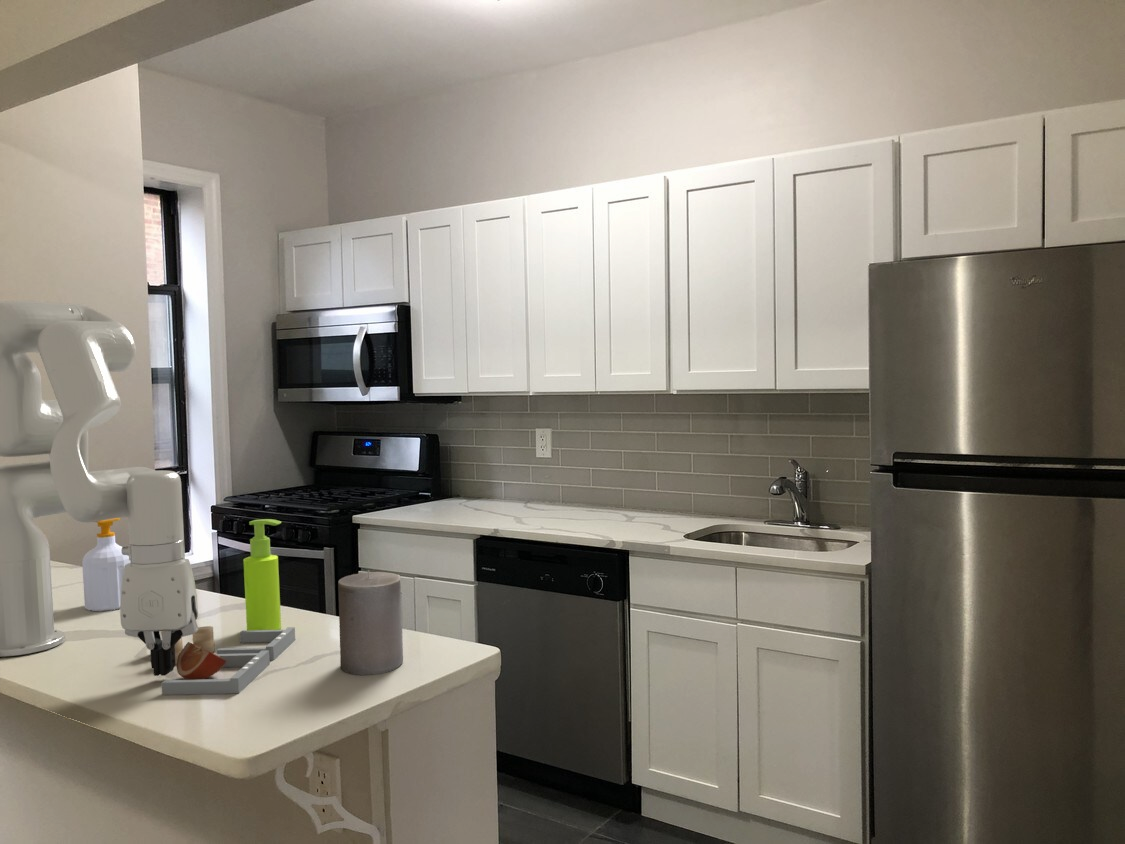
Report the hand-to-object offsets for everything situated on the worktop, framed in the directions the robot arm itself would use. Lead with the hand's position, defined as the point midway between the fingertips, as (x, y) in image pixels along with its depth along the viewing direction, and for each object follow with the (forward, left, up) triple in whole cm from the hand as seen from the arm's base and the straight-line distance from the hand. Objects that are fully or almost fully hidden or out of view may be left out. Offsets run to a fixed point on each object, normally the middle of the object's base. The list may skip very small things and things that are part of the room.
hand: (163, 672), depth 138 cm
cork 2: (+1, +13, -1) cm, 13 cm away
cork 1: (-2, +8, -1) cm, 8 cm away
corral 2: (+9, +14, -1) cm, 17 cm away
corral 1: (+8, 0, -1) cm, 8 cm away
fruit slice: (+6, +1, -1) cm, 6 cm away
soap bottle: (-32, +46, -1) cm, 56 cm away
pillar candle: (+31, +5, -1) cm, 31 cm away
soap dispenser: (+7, +26, -1) cm, 27 cm away
